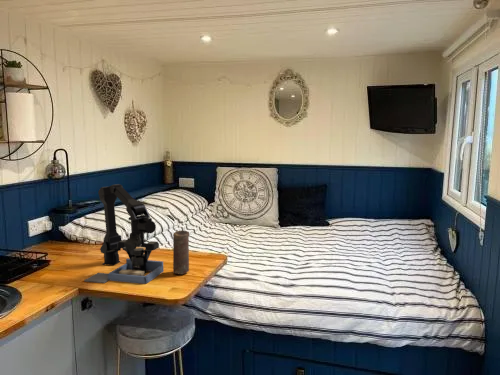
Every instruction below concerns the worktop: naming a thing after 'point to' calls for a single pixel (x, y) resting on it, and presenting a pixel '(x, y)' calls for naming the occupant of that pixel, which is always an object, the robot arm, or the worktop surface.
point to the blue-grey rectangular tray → (151, 266)
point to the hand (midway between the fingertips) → (139, 262)
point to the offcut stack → (132, 272)
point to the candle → (181, 252)
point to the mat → (98, 278)
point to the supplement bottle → (138, 260)
